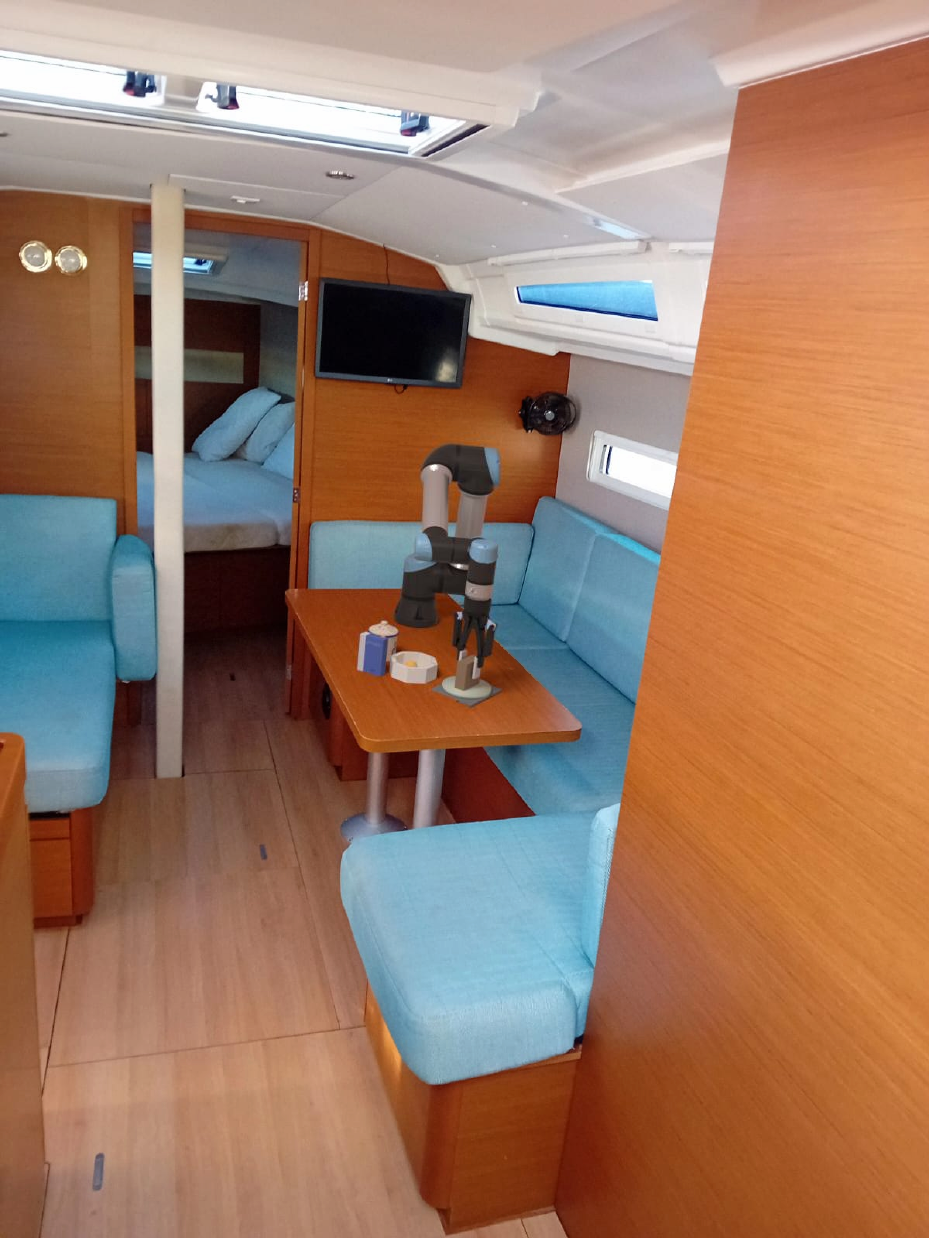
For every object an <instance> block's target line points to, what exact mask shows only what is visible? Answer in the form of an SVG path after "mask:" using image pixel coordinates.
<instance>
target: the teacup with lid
mask: <svg viewBox="0 0 929 1238" xmlns="http://www.w3.org/2000/svg"><path fill="white" fill-rule="evenodd" d="M367 632H369V633H372V634H376V635H379V636H381V635H383V636H385V637H386V638H388V648H387V658H386V662H390V658H391V655H394V654H397V644H398V635H399V634H400V633H399V629H398V628H397V627H396V626H393V625H391V624H389V623H388V621H387V620H381V621H380V623H377V624H373V625H370V626H369V628H368V630H367Z"/></svg>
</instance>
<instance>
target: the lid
mask: <svg viewBox="0 0 929 1238" xmlns="http://www.w3.org/2000/svg"><path fill="white" fill-rule="evenodd" d="M476 656H477V655H476V654H471V655H469V656H468V655H467V657H466V658H464V659H462V660H459V661H458V660H457V663H456V673H455V675H452V676H448V677H446V678H444V679H443V681H442V683H441V684H442V689H443V691H444V692H446V693H447V694H449V695H451V696H454V697H457V698H461V699H468V700H477V699H483V698H486V697H488V696H489V695H490V694H491V686H492V685H491V684H490V683H489V682H487V681H485V680H484V679H482V678H481V676H480V677H478V678H476V679H472V675H473V667H474V659H475V657H476ZM481 671H482V668H481V669H480V674H481ZM490 685H491V686H490Z"/></svg>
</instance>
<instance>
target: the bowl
mask: <svg viewBox="0 0 929 1238" xmlns="http://www.w3.org/2000/svg"><path fill="white" fill-rule="evenodd" d="M408 661H414V662H416V664H417V665H418V667H408V666H405V663H406V662H408ZM438 665H439V664H438V662H437V659H436V657H434V656H432V655H429V654H426V653H424V652H421V651H403V650H402V651H400V652H396V654H394V655H391V658H390V661H389V668H388V670H389V672H390V677H391V678H393V679H396V680H397V681H400V682H403V683H405V684H423V685H424V684H427V683H429V682H431V681H432V682H433V681H434V680H436V679H437V674H438V673H437V672H438Z"/></svg>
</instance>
